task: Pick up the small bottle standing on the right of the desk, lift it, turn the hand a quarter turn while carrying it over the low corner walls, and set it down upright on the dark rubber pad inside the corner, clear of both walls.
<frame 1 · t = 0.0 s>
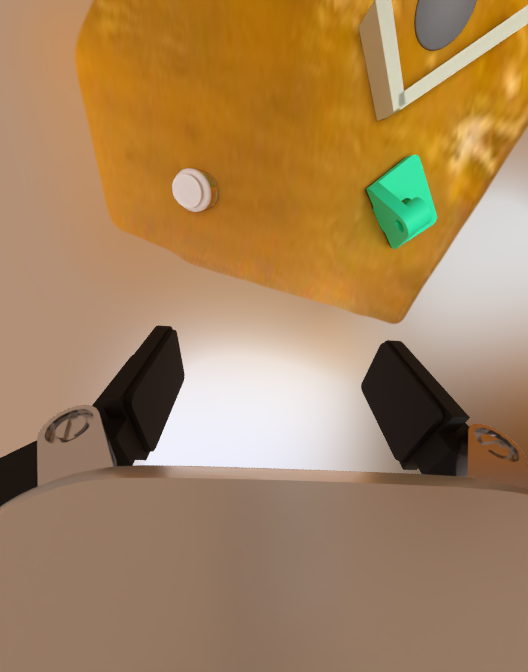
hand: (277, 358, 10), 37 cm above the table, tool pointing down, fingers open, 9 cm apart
camera mount: (396, 204, 39), on the table
corner walls: (436, 12, 27), on the table
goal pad: (445, 5, 27), on the table
supplement bottle: (203, 190, 37), on the table
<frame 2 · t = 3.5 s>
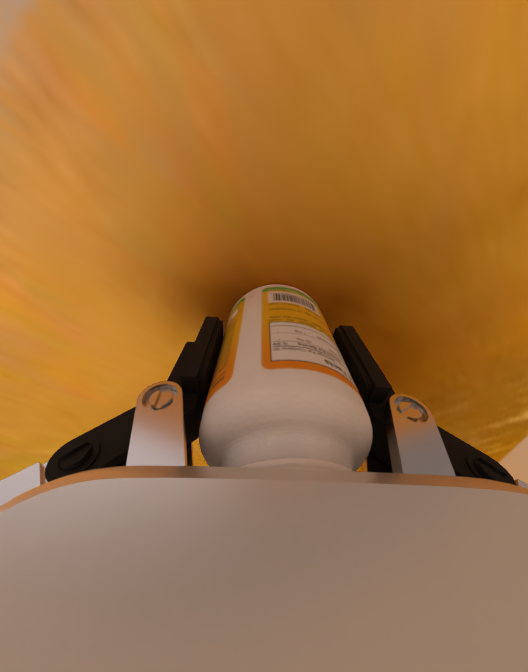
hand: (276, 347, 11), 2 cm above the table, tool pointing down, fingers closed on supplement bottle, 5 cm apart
supplement bottle: (274, 324, 13), on the table, touching gripper
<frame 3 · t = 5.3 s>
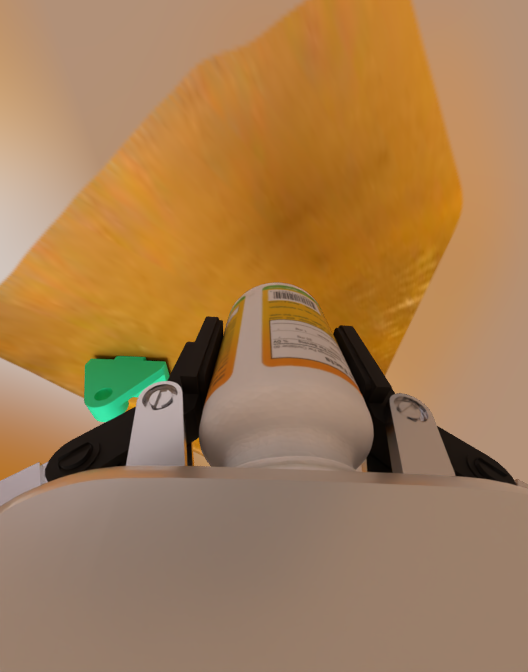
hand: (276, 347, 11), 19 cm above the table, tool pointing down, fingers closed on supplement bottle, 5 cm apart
camera mount: (138, 370, 39), on the table
supplement bottle: (275, 323, 13), point 17 cm above the table, touching gripper
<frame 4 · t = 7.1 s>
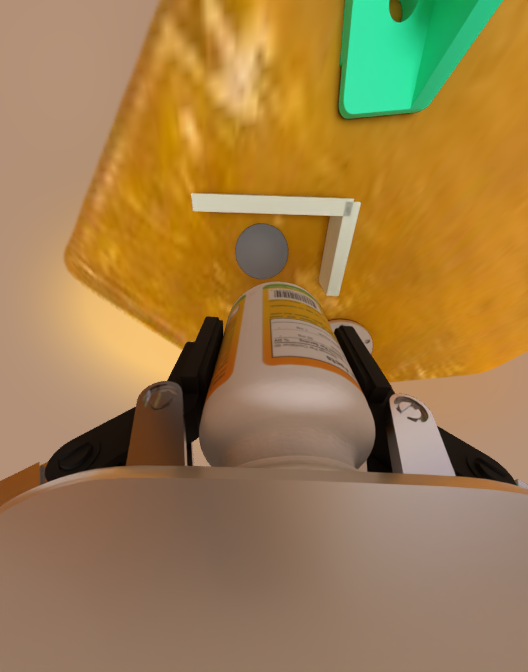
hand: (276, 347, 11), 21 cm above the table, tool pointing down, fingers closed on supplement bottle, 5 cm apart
camera mount: (386, 22, 18), on the table
corner walls: (269, 253, 29), on the table
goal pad: (261, 252, 29), on the table
supplement bottle: (275, 322, 13), point 19 cm above the table, touching gripper
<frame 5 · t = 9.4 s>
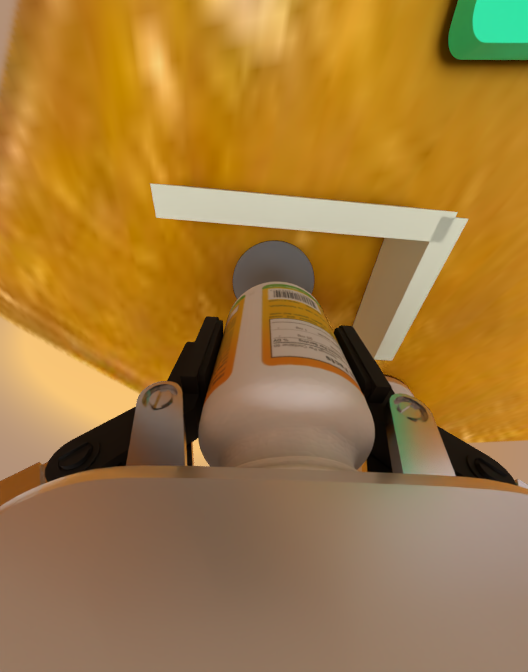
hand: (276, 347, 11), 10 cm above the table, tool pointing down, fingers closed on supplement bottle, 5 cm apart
corner walls: (284, 284, 19), on the table
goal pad: (273, 283, 19), on the table
supplement bottle: (275, 322, 13), point 7 cm above the table, touching gripper
when the fingers open (4 cm above the table, at t = 11.0 s): supplement bottle drops 2 cm, resting on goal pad.
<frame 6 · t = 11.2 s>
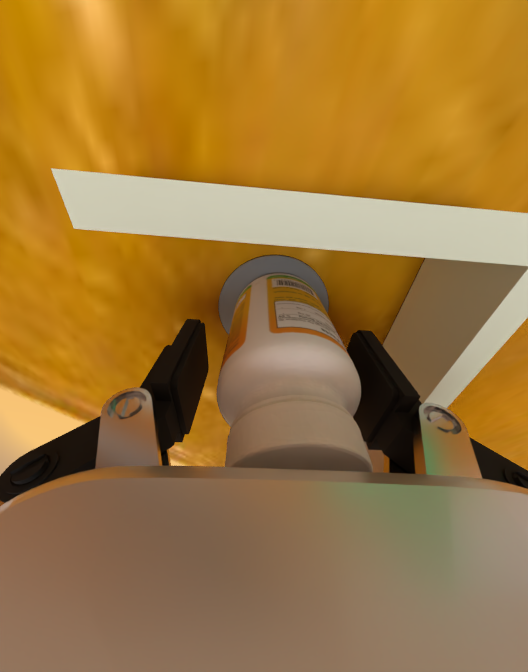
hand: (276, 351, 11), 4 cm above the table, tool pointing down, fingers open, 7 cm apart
corner walls: (288, 311, 14), on the table
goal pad: (273, 310, 14), on the table
supplement bottle: (277, 311, 14), resting on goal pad
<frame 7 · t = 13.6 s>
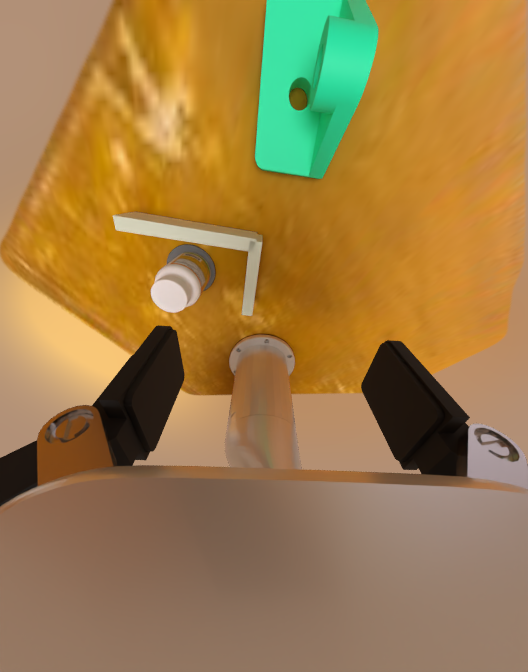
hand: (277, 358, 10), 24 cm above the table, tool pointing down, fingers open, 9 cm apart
camera mount: (296, 104, 23), on the table
corner walls: (198, 270, 32), on the table
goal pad: (191, 269, 32), on the table
supplement bottle: (193, 269, 32), resting on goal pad
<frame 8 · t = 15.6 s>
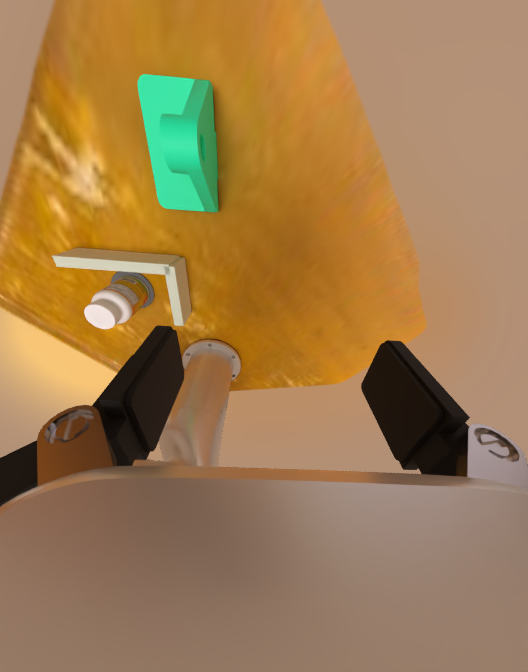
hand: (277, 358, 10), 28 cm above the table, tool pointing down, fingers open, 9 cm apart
camera mount: (188, 155, 28), on the table
corner walls: (139, 289, 38), on the table
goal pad: (133, 289, 38), on the table
supplement bottle: (134, 289, 38), resting on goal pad
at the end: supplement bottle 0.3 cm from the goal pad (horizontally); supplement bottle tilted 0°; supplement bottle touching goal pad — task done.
